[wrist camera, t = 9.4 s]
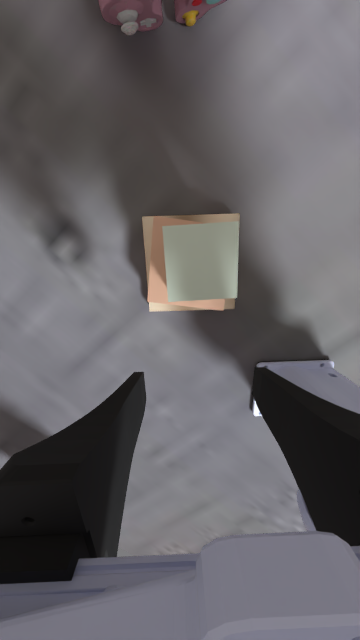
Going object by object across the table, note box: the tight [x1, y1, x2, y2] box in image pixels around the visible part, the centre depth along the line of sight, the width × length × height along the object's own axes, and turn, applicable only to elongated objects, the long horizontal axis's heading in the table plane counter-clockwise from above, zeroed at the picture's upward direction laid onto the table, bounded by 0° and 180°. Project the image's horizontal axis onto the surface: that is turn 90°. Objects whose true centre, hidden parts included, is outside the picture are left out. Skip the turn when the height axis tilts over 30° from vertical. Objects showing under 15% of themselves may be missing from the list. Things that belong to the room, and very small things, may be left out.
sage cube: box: [162, 221, 239, 302], centre depth 13 cm, size 4×4×4 cm
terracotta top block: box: [147, 216, 225, 311], centre depth 17 cm, size 7×7×2 cm
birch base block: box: [142, 213, 240, 312], centre depth 19 cm, size 9×9×2 cm
